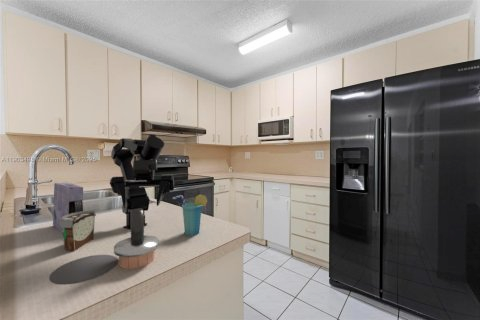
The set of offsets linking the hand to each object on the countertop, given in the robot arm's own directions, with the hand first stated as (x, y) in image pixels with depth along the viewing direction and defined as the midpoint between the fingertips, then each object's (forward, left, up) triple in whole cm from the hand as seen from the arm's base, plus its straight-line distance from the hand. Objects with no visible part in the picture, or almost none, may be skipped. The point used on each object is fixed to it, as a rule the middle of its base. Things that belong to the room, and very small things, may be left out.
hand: (141, 206), depth 65 cm
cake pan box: (-40, +6, -14) cm, 43 cm away
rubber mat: (-5, -13, -14) cm, 20 cm away
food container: (-22, -4, -14) cm, 26 cm away
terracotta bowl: (+4, -6, -13) cm, 16 cm away
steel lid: (+4, -6, -10) cm, 12 cm away
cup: (+7, +17, -14) cm, 23 cm away
